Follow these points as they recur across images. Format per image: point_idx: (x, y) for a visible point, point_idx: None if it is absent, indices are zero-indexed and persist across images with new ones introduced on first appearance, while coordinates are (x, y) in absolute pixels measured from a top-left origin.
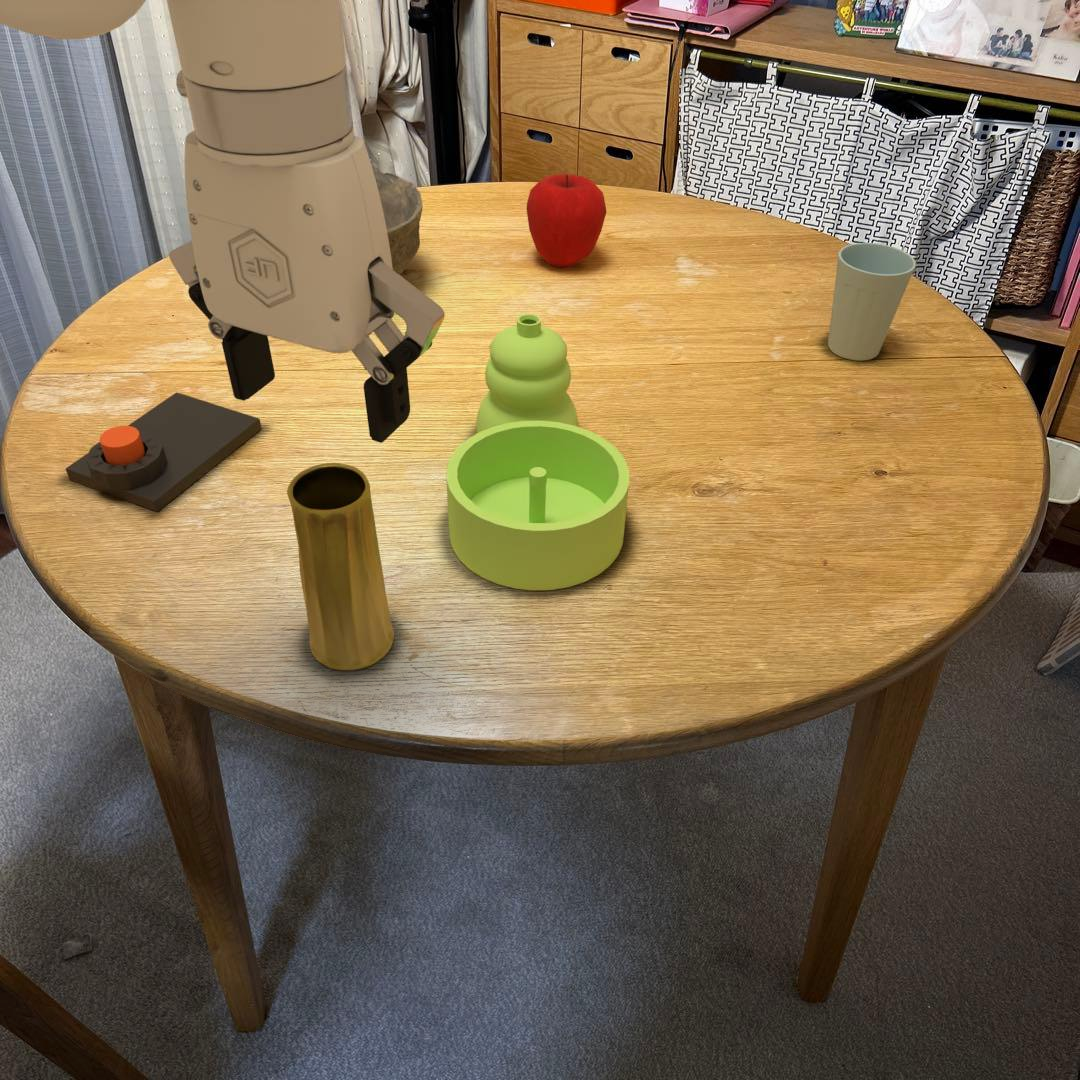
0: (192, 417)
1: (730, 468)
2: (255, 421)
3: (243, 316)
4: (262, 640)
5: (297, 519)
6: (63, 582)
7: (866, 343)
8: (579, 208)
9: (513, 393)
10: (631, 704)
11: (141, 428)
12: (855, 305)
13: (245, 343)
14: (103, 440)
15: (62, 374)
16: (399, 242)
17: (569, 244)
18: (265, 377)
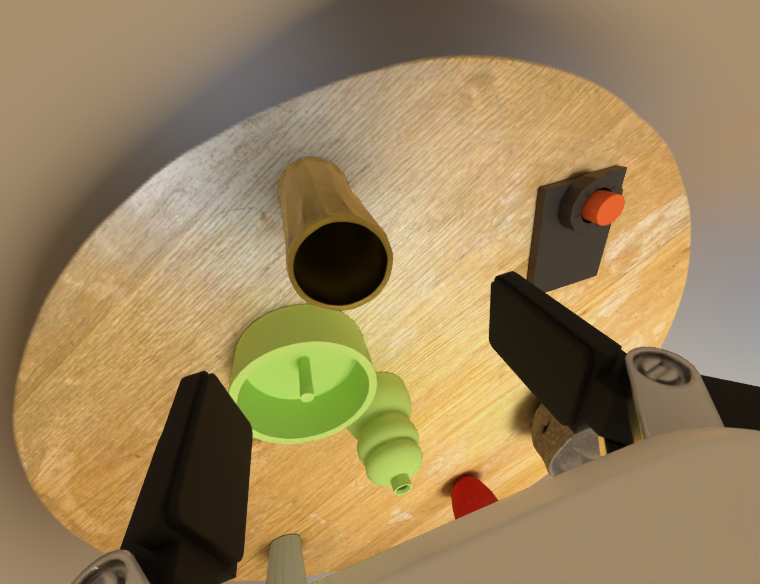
0: (572, 267)
1: (256, 460)
2: None
3: (661, 555)
4: (372, 143)
5: (342, 207)
6: (556, 74)
7: (272, 554)
8: None
9: (380, 429)
10: (92, 297)
11: (598, 235)
12: (282, 579)
13: (568, 375)
14: (619, 198)
15: (675, 235)
16: (545, 448)
17: (461, 497)
18: (497, 334)
